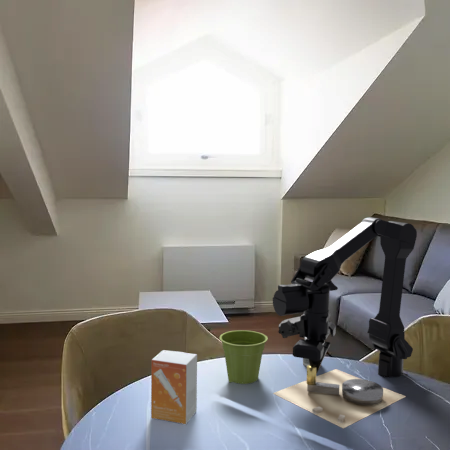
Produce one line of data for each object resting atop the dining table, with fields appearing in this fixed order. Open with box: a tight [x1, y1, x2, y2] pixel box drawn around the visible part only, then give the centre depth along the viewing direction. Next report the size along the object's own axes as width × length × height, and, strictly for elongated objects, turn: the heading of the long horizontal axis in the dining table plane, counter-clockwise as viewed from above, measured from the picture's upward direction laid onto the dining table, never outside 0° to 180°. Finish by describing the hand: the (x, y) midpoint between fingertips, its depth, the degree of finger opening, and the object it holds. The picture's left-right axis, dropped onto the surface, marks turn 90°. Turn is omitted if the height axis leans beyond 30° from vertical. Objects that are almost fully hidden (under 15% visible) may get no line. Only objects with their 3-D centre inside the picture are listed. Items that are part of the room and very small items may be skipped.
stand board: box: [272, 368, 407, 429], centre depth 115 cm, size 23×20×2 cm
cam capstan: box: [305, 365, 384, 405], centre depth 115 cm, size 17×9×6 cm, turn 76°
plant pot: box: [219, 329, 268, 385], centre depth 124 cm, size 12×12×11 cm
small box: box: [150, 349, 198, 425], centre depth 106 cm, size 8×6×13 cm
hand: (314, 373), depth 118 cm, fingers closed
